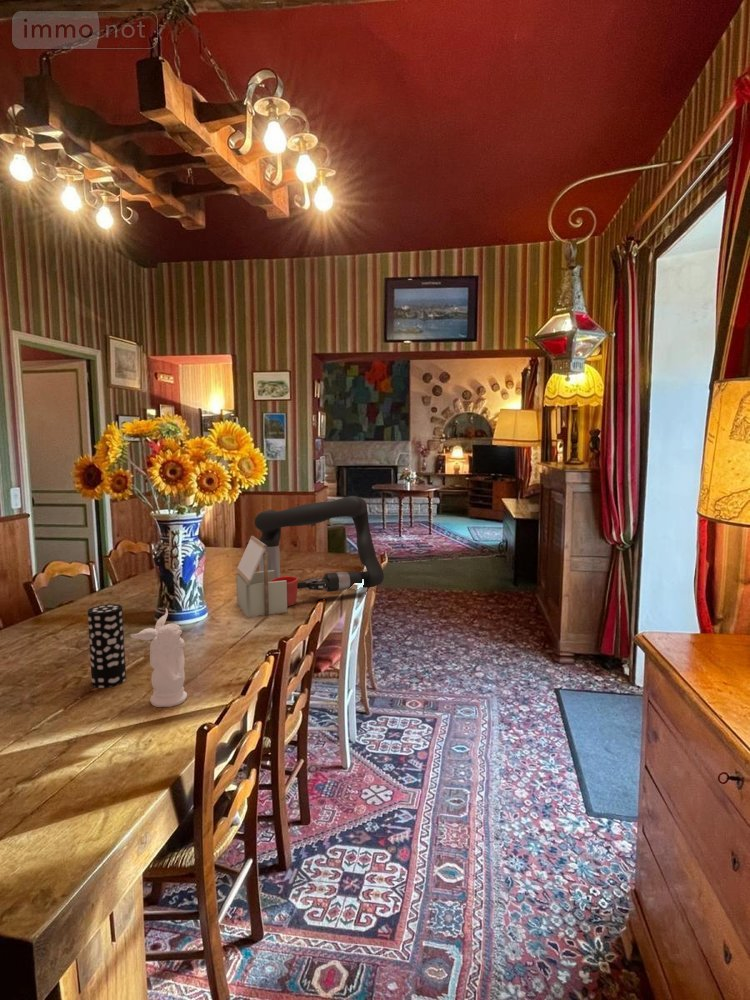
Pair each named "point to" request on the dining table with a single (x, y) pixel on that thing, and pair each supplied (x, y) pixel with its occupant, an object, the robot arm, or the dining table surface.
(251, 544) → the lid
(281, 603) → the cold frame
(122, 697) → the dining table surface
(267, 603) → the prop stick
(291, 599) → the flower pot
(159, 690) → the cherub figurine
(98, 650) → the white-spotted black cylinder
